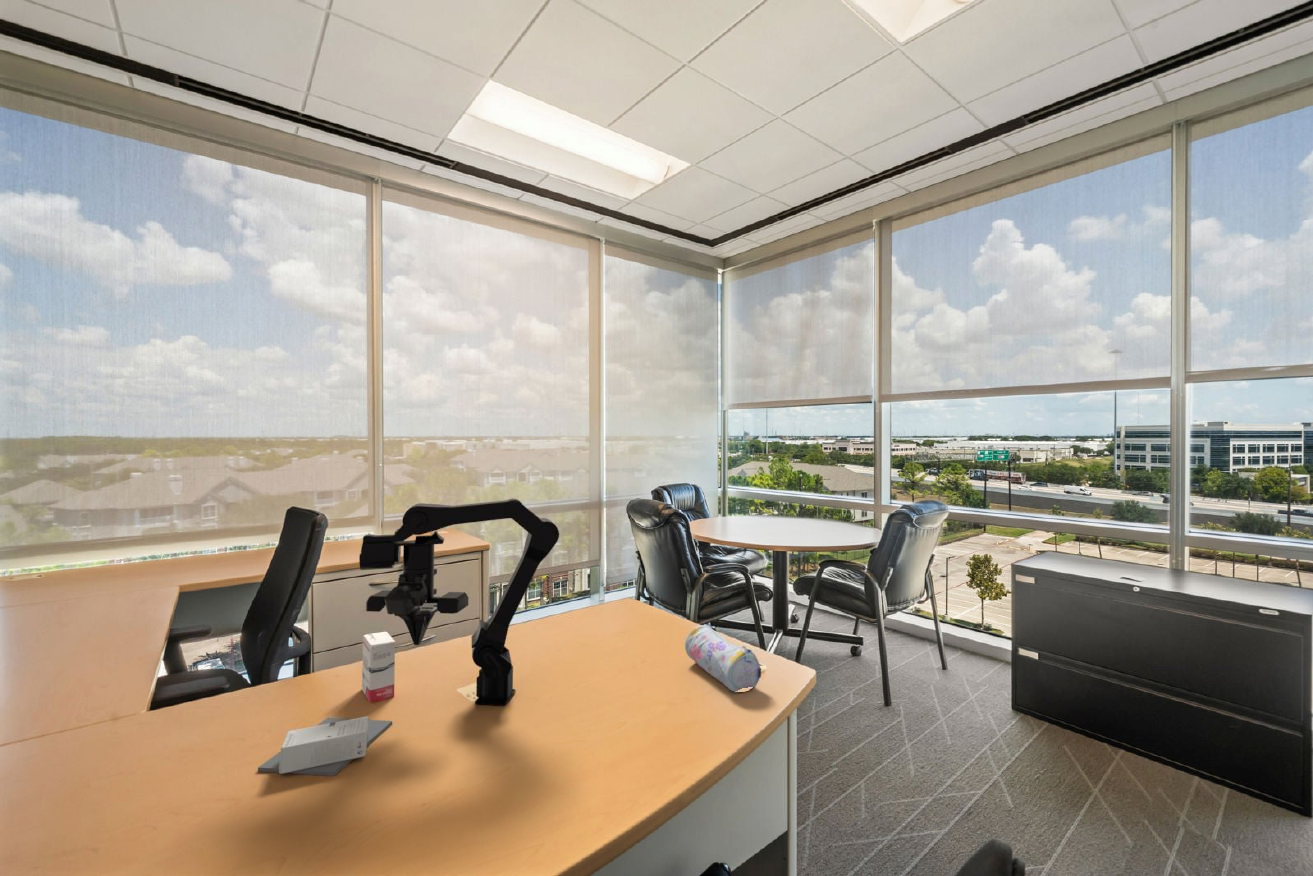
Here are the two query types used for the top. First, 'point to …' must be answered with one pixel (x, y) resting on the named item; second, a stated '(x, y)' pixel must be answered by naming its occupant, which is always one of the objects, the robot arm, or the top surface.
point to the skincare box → (324, 744)
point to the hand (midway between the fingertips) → (417, 644)
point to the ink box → (378, 666)
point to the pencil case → (723, 658)
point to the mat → (331, 769)
